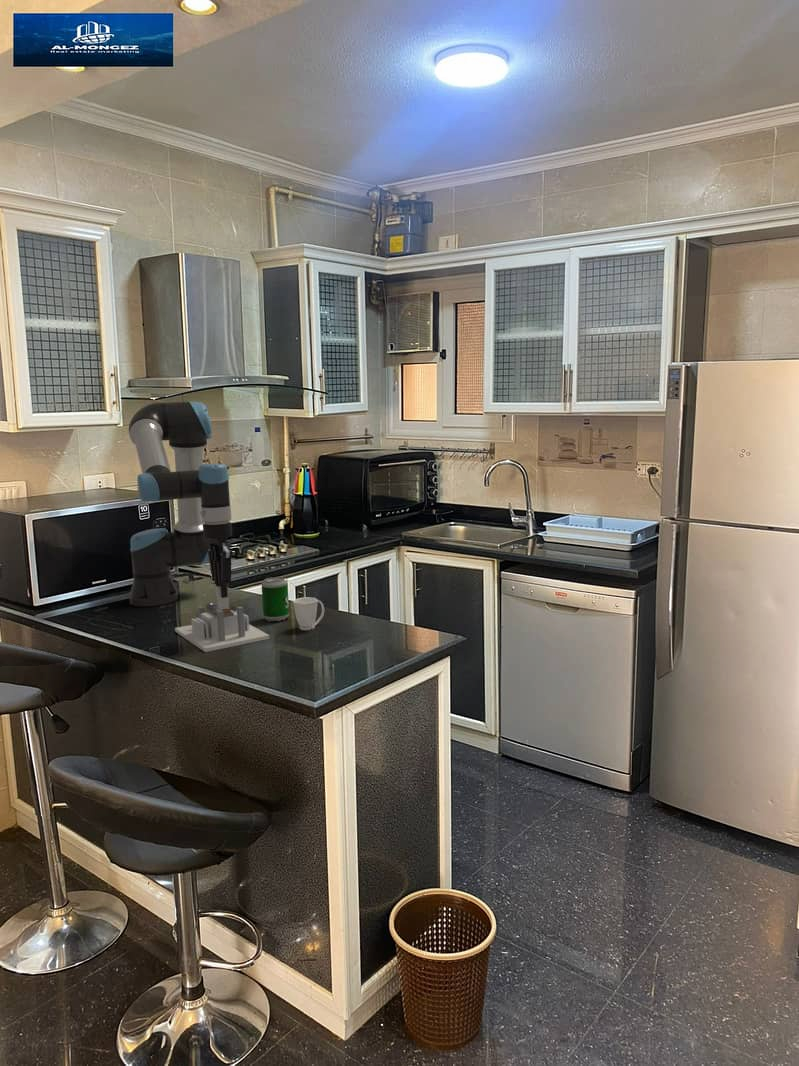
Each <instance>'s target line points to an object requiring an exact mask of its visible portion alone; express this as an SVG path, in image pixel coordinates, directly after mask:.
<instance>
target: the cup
mask: <svg viewBox="0 0 799 1066" xmlns="http://www.w3.org/2000/svg"><path fill="white" fill-rule="evenodd" d="M318 603H319V604H320V607H321V613H320V616H319V617H318V618H317V614H318V613H317V611H318ZM292 605H293V609H294V614H295V618H296V622H297V624H298V625H299V627H298V629H299V628H300V629H301V630H300V629H299V630H300V631H311V629H312V630H314V629H315V627H316V626H317V625H318V624H320V623H319V622H321V620H322V619H323V617H324V615H325V606H324V603H323V602H322V601H321V600H319V599H317V598H316V597H299V598H298V597H297V598H296V599H293V600H292ZM316 619H317V620H316Z"/></svg>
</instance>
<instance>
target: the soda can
mask: <svg viewBox="0 0 799 1066" xmlns="http://www.w3.org/2000/svg"><path fill="white" fill-rule="evenodd" d="M261 598H262V600H261V601H262V613H263V616H262V617H263V618H264V619H265V620H266V621H267V620H268V621H267V622H270V621H279V622H282V621H281V620H283V621H286V620H287V619H286V618H289V616H290V604H289V601H290V600H289V586H288V580H287V579H285V578H284V577H282V576H275V577H274V576H273V577H267V578H265V579H264V580H263V582H261ZM285 619H286V620H285Z"/></svg>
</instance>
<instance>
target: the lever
mask: <svg viewBox="0 0 799 1066" xmlns="http://www.w3.org/2000/svg"><path fill="white" fill-rule="evenodd" d="M204 609H207V610H209V612H214V613H216V614H217V611H218V610H219V609H218V608H217V602H211V603H206V604H204ZM222 611H223V615H224V617H228V616H234V613H233V612H231V608H230V607H229V608H228V609H222Z"/></svg>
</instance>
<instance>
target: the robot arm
mask: <svg viewBox="0 0 799 1066" xmlns="http://www.w3.org/2000/svg"><path fill="white" fill-rule="evenodd" d="M128 435H129V439H130V440H131V442H132V444H134V446H135V448H136V452H137V456H138V461H139V465H140V469H141V473H139V474H138V475H137V481H136V482H137V492H138V497H139V499H140V500H141V501H142V502H161V501H169V500H170V501H172V500H177V501H176V503H177V516H178V517H177V518H178V521H177V522H175V524H174V525H173V531H169V532H168V530H167V528H165V527H162V528H160V527H158V528H151V529H146V530H143V531H139V532H137V533H135V534H133V535H132V536H131V537H130V548H129V550H130V553H131V564H132V576H133V577H132V578H133V581H132V585H131V589H130V593H129V604H130V605H132V606H135V607H156V606H163V605H166V604H167V605H168V604H171V603H173V602H176V601H177V600H178V599H179V595H178V590H177V587H176V585H175V583H174V580H173V579H172V576H171V568H180V567H190V566H202V565H205V564H209V568H210V576H211V581H212V582H214V585H215V592H216V593H215V594H216V604H217V608H218V609H219V610H222V609H228V608H230V601H229V585H231V583H232V558H233V557H232V556H233V550H232V549H229V543H228V540H227V539H228V538H230V537H232V536H233V525H232V522H231V520H232V509H231V507H232V505H231V502H230V501H231V500H230V497H231V496H230V483H229V479H230V476H229V472H228V471H229V470H228V466H227V465H226V464H225V463H208V464H207V463H206V464H203V463H204V462H203V461H204V460H203V449H204V448H205V447H207V445H208V444H207V443H208V442H207V441H208V440H210V439H211V438H213V429H212V423H211V418H210V415H209V412H208V409H207V406H206V405H205V404H204V403H203V402H200V401H191V400H190V401H188V400H187V401H174V402H173V401H172V402H171V401H170V402H169V401H168V402H153V403H149V404H147V405H145V406H143V407H141V408H140V409H139V410H137V411H136V413H134V415H133V416H132V418H131V419H130V421H129V424H128ZM163 441H164V442H165V441H168V447H170V448H171V449H173V451H174V465H175V466H174V468H175V471H172V470H171V468H170V467H171V466H170V463H169V460H168V456H167V454H166V450H165V446H164V443H163Z"/></svg>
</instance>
